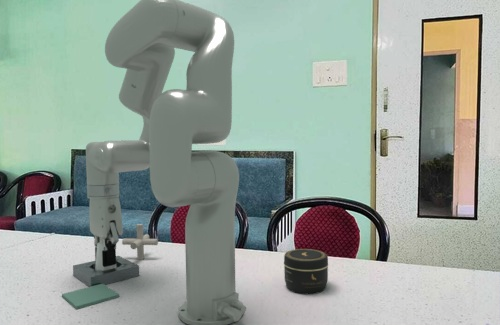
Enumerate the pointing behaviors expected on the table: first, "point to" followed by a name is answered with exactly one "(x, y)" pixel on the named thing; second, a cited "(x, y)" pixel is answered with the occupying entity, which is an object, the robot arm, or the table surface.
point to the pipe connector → (140, 242)
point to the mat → (90, 296)
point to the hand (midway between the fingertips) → (105, 262)
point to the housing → (105, 272)
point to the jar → (306, 270)
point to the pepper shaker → (99, 263)
